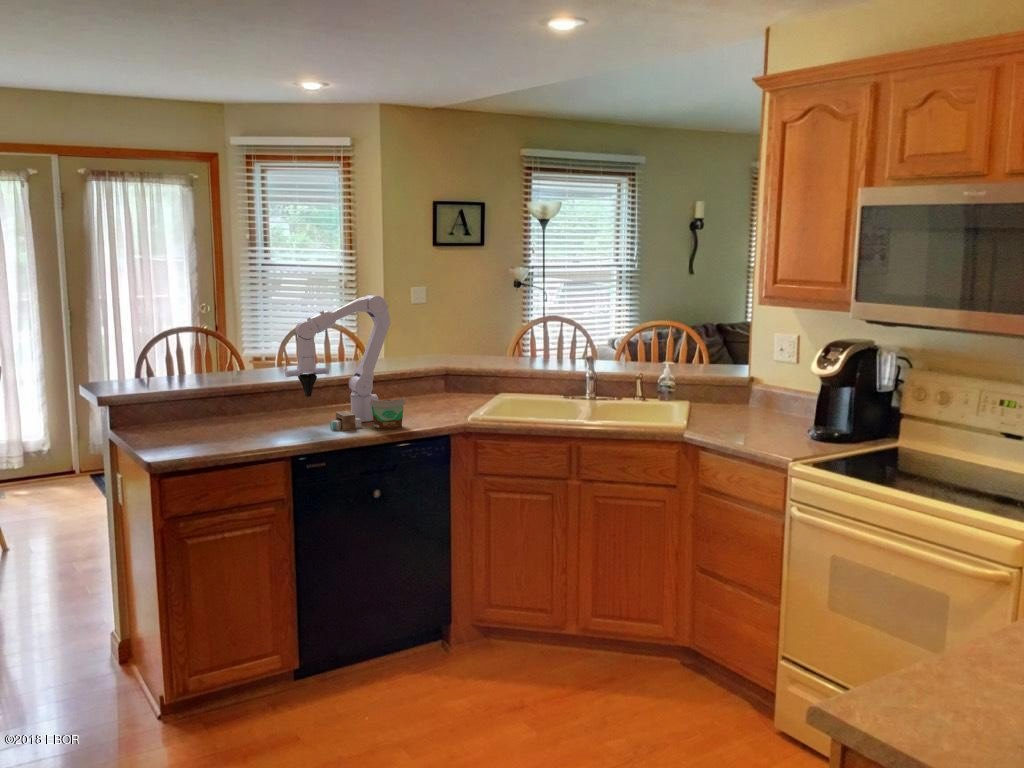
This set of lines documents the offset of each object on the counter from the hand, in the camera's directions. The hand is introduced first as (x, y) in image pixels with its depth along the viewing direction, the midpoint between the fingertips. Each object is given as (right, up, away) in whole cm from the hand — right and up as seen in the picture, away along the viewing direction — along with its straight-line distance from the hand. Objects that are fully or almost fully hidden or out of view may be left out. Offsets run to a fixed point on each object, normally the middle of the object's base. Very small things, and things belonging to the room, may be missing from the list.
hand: (308, 396), depth 296 cm
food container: (+29, -11, -5) cm, 31 cm away
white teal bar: (+14, -11, -4) cm, 18 cm away
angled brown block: (+14, -11, -4) cm, 18 cm away
